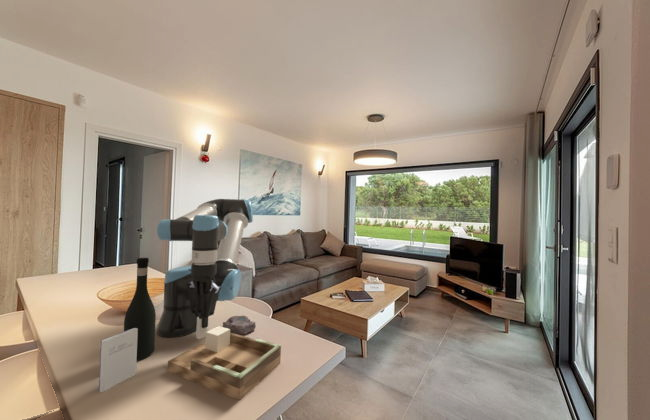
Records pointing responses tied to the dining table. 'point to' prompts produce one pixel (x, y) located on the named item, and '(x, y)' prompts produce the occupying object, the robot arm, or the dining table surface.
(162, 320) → the robot arm
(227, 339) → the block
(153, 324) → the wine bottle
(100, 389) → the hard drive
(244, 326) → the rock
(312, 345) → the dining table surface
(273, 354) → the wooden tray
